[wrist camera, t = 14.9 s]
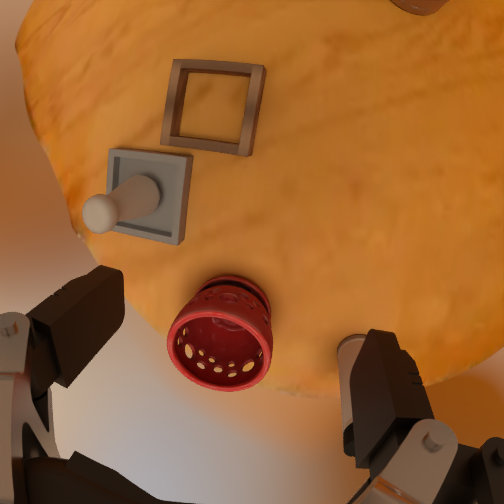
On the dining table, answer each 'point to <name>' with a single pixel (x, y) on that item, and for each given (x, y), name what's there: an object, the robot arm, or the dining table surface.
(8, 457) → the robot arm
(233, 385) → the plant pot
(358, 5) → the dining table surface
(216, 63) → the rectangular frame
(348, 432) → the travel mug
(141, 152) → the tray
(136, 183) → the salt shaker
